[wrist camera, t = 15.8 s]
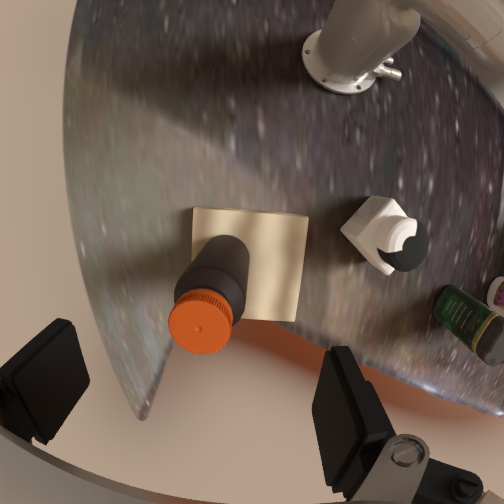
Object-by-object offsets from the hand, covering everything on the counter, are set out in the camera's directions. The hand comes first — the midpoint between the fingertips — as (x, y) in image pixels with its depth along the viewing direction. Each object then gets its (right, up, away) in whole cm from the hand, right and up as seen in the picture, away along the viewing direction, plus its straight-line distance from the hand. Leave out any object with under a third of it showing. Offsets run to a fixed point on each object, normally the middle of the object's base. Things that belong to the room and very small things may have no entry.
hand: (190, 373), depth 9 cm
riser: (+1, +3, +34) cm, 34 cm away
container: (+21, +8, +33) cm, 40 cm away
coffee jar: (+42, -6, +36) cm, 56 cm away
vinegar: (-2, +3, +31) cm, 31 cm away
